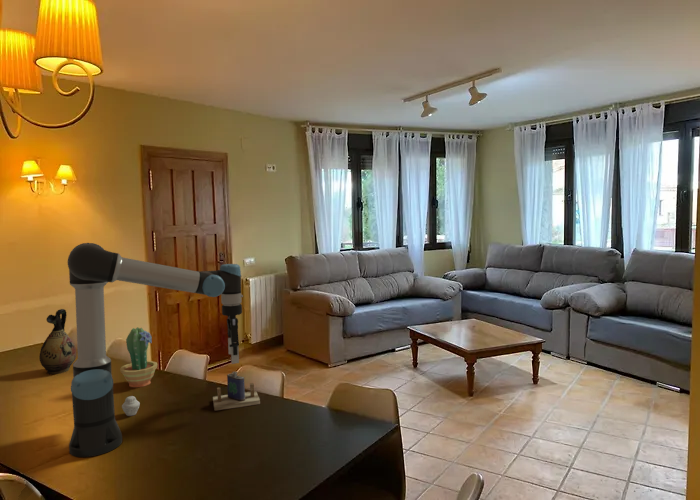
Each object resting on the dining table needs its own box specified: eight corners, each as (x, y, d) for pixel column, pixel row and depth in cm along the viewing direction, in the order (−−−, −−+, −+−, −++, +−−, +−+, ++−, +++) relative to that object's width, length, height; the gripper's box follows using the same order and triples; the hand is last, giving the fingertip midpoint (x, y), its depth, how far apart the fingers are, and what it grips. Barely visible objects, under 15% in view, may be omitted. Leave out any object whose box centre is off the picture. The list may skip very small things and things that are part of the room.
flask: (246, 399, 190) (245, 372, 190) (240, 402, 188) (239, 374, 187) (231, 395, 196) (230, 368, 195) (225, 397, 194) (224, 370, 193)
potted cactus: (127, 392, 207) (123, 334, 205) (116, 383, 218) (112, 328, 216) (164, 383, 217) (160, 327, 215) (151, 375, 228) (148, 322, 227)
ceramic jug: (65, 375, 232) (61, 313, 230) (33, 376, 232) (28, 313, 230) (85, 364, 249) (81, 306, 246) (55, 365, 249) (51, 307, 247)
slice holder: (260, 403, 190) (259, 387, 189) (214, 410, 184) (213, 393, 184) (256, 394, 200) (255, 378, 200) (213, 400, 195) (212, 384, 194)
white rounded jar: (133, 418, 180) (132, 399, 179) (118, 417, 181) (117, 398, 180) (143, 411, 186) (142, 393, 185) (129, 410, 187) (128, 392, 186)
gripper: (245, 308, 179) (247, 366, 180) (238, 298, 203) (240, 349, 204) (224, 310, 177) (226, 368, 178) (219, 299, 200) (221, 351, 202)
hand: (233, 358), depth 191 cm, fingers open, 13 cm apart
